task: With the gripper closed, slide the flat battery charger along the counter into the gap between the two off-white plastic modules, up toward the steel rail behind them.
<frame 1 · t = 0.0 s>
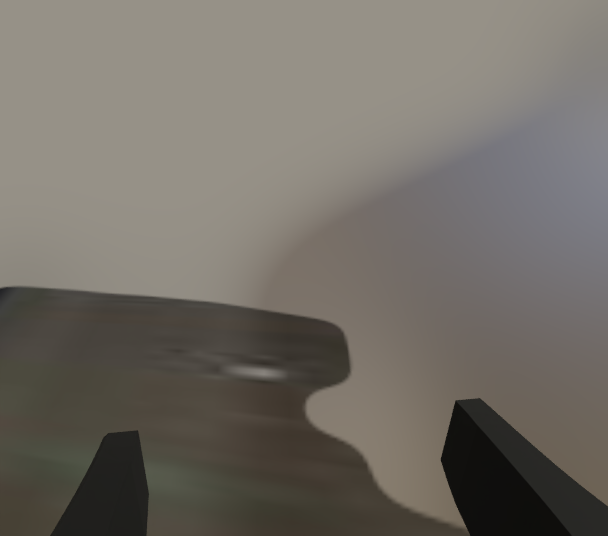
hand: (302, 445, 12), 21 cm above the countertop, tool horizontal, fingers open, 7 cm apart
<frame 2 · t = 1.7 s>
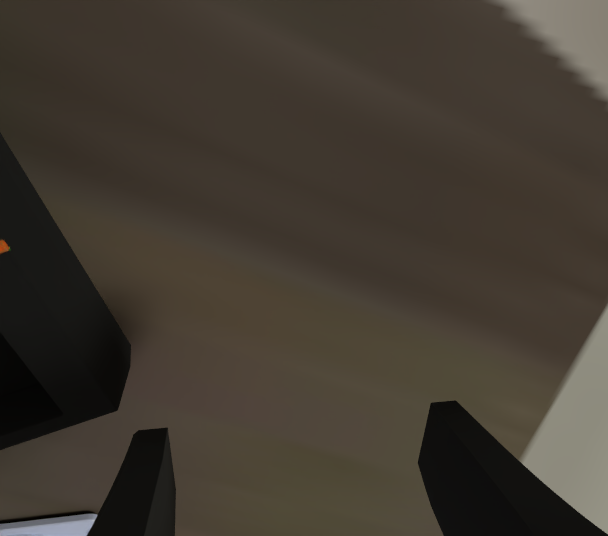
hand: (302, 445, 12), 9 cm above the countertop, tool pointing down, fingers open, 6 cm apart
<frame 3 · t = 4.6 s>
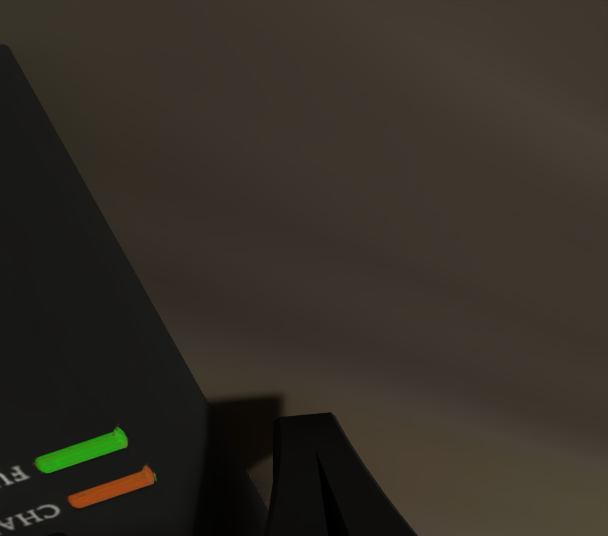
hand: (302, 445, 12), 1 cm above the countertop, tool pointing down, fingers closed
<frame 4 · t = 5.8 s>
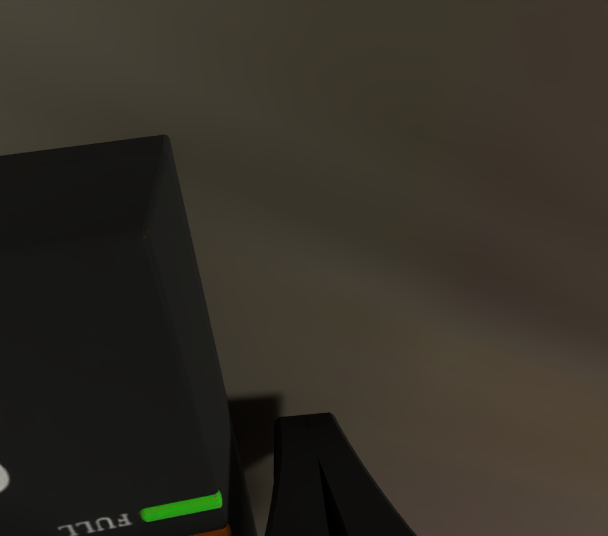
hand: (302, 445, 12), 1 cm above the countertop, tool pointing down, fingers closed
battery charger: (26, 422, 12), on the countertop
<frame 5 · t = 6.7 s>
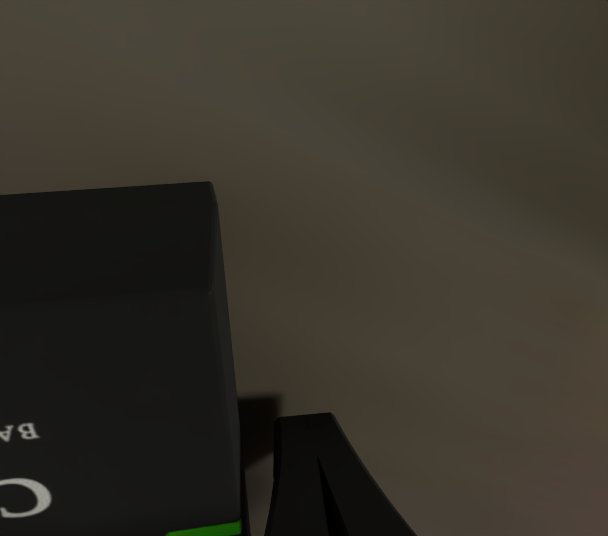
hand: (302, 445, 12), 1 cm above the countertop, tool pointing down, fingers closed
battery charger: (40, 435, 13), on the countertop, touching gripper
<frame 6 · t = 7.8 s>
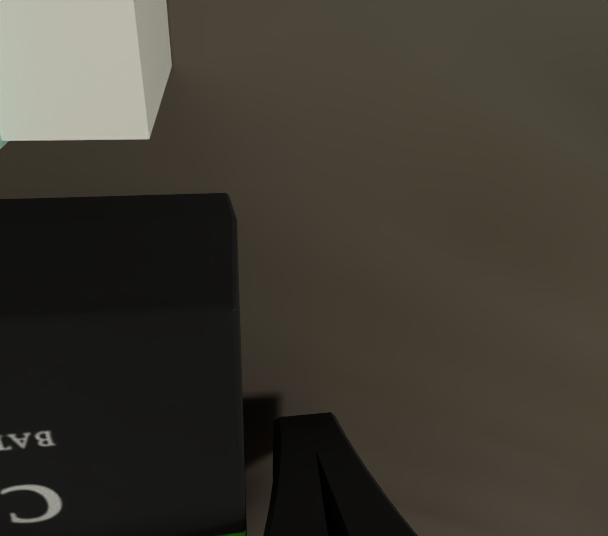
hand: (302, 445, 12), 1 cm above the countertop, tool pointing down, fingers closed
battery charger: (40, 437, 13), on the countertop
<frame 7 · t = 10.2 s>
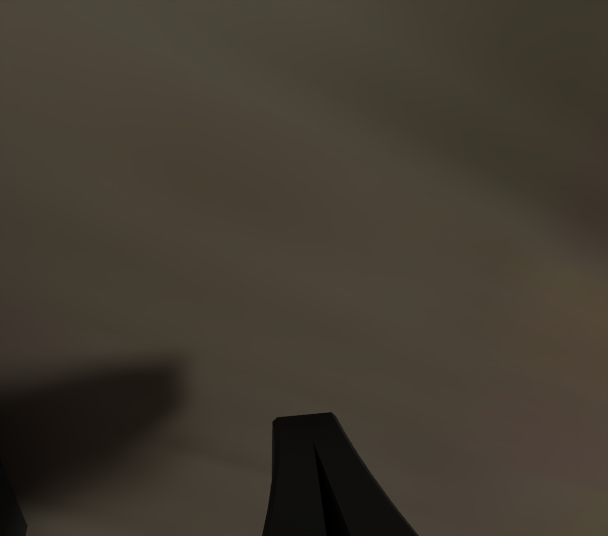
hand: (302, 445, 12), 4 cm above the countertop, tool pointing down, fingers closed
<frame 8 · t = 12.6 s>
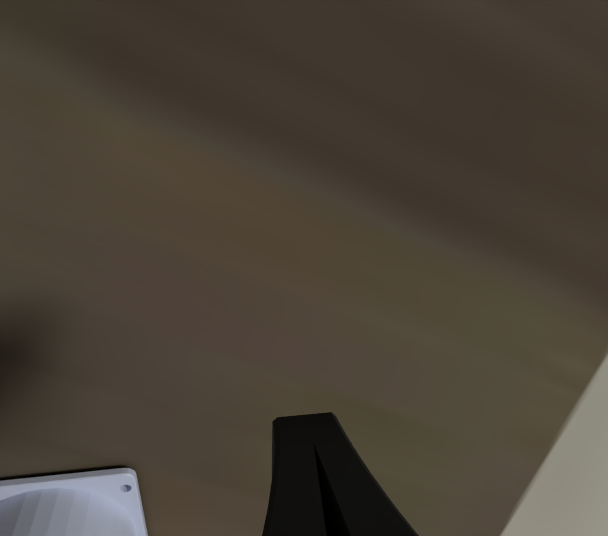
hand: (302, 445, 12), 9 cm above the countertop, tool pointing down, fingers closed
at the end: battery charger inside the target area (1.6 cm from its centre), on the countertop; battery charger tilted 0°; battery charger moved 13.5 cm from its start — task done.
